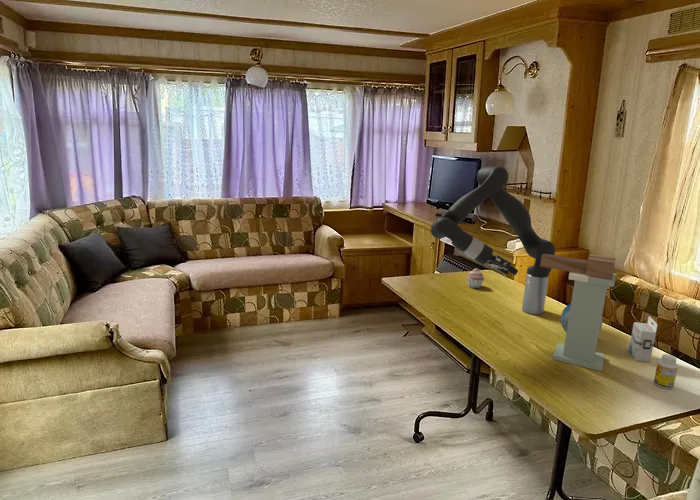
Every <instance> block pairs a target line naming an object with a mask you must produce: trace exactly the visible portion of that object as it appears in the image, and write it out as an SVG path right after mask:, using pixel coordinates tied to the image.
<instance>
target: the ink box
mask: <svg viewBox="0 0 700 500" xmlns="http://www.w3.org/2000/svg"><path fill="white" fill-rule="evenodd" d="M657 330H658V322H656V321H655V320H654V319H653V318H652V317H651V316H648V317H647V323H643V322H637V321H635V322H634V321H633V324H632V331H631V335H630V341H629V345H628V352H629V353H630V355H631V356H632V357H633V359H634V360H635V361H637V362H647V363H650V362H651V358H652V354H653V350H654V344H655V340H656V336H657Z"/></svg>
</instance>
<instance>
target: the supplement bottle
mask: <svg viewBox="0 0 700 500" xmlns="http://www.w3.org/2000/svg"><path fill="white" fill-rule="evenodd" d="M678 368H679V366H678V363H677V357H676V356H674V355H672V354H669V353H668V354H667V353H663V354H662V355H661V357H660V359H658V360H657V364H656V369H655V373H654V378H653V383H654V385H656V387H659V388H661V389H665V390H670V389H671V390H672V389H673V388H674V385H675V381H676V377H677V373H678Z"/></svg>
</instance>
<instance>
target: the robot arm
mask: <svg viewBox="0 0 700 500" xmlns="http://www.w3.org/2000/svg"><path fill="white" fill-rule="evenodd" d="M476 179H477V182H478V185H479V186H478V187H476V188H475V189H473V190H471V191H470V192H467V193H466V194H465V195H463V196H461V197H460V198H459V199H458V200H456V201H455V202H454V203H453V204H452V205H451V206H450V207H449V208H448V209H447V211H446V212H445V213H444V214H442V215H440V217H439V218H438V219H437V220H436V221H434V222H433V223H432V225H431V226H430V234H431V235H432V236H433V238H436V239H438V240H439V239H444V238H447V239H448V240H450V241H451V245H452V246H453V247H454V248H456V249H457V250H459V251H460V252H462V253H464V254H465V256H468V258H470V259H472V260H473V261H475V262H476V263H478V264H479V265H483V266H484V265H485V264H486V265H488V266H489V267H491V268H492V269H493V270H496V271H499V272H501V273H502V274H504V275H508V274H509V273H511V274H512V275H514V276H516V275H517V274H518V272H519V270H518V269H517V268H515V267H514V266H513V265H512V263H510V262H509V261H507V260H505V259H504V258H502V257H501V256H499V255H493V252H494V249H493V247H491V246H489V245H488V244H486V243H484V242H483V241H481V239H480V240H479V239H478V238H476V237H474V236H472V235H471V234H469V233H468V232H465V231H464V230H463V229H462V227H461V226H460V225H458V224H460V223H462V222H463V220H465V219H467V217H468V216H469V215H470V214H471V213H472V212H473V211H474V210H475V209H476V208H478V206H479V205H481V204H483V203H484V201H486V200H488V199H489V198H490V200H491V201H492V202H493V203H494V205H495V207H496V209H498V210H499V213H501V214H502V216H503V218H504V219H505V221H506V222H507V223H508V225H509V227H511V228H510V229H512V230H513V232H514V234H515V235H516V236H517V237H518V239H519V240H520V242H521V244H522V247H523V248H524V250H525V252H526V254H527V255H528V256H529V257H531V258H532V259H535V261H534V264H533V265H530V266H528V267H527V270H526V277H525V283H524V284H525V285H524V290H523V298H522V299H523V300H522V306H521V310H522V311H523V312H524V313H526V314H530V315H537V316H539V315H543V314H544V311H545V304H546V299H547V298H546V297H547V291H548V284H549V278H550V273H551V271H552V269H551V268H545V267H540V263H541V256H542V255H543V254H550V255H555V254H556V247H555V244H554V243H553V242H551V241H550V240H547V239H544V238H541V237H540V236H539V235H538V234H537V232H536V231H535V230H534V228H533V226H532V219H531V218H532V217H531V214H530V213H529V211H528V209H527V208H526V206H525V205H524V204H523V203H522V202H521V201H520V200H519V199H518V198H516V197H515V196H513V195H512V194H511V193H509V192H508V191H507V190H505V188H504V187H505V186H506V185H507V183H508V180H509V172H508V171H507V168H505V167H503V166H496V165H495V166H484V167H481V168H480V169H479V170H478V171H477V174H476ZM505 265H506V266H505Z"/></svg>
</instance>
